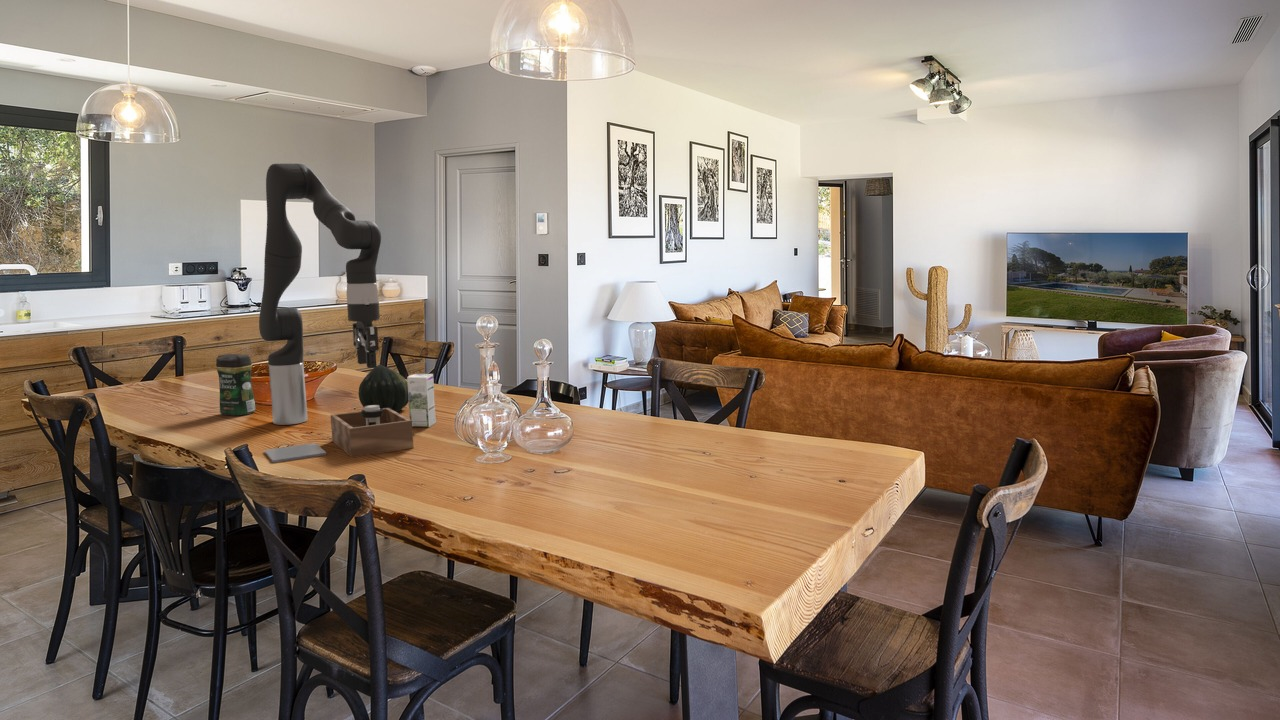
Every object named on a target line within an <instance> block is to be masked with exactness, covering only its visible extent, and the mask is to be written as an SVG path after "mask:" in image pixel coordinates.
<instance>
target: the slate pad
mask: <svg viewBox="0 0 1280 720" xmlns="http://www.w3.org/2000/svg"><path fill="white" fill-rule="evenodd" d="M264 453H265V455H266V456H267V457H268V458H269V460H270V461H271V462H272V464H274V463H275V464H276V463H281V462H288V461H293V460H294V461H296V460H302V459H303V460H304V459H307V458H308V459H309V458H314V457H323V456H327V452H326V450H324V449H323V448H322V447H321V446H320V445H319V444H317V442H313V443H306V444H305V443H304V444H298V445H289V446H284V447H276V448H270V449H264Z"/></svg>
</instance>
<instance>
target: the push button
mask: <svg viewBox="0 0 1280 720" xmlns="http://www.w3.org/2000/svg"><path fill="white" fill-rule="evenodd" d="M360 411H361V413H362V416H363V417H364V418H366V426H369V425H376V424H380V416H382V415H383V414H382V412H383V409H381V408H379V405H369V406H365V408H363V409H362V410H360Z"/></svg>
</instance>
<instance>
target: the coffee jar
mask: <svg viewBox="0 0 1280 720" xmlns="http://www.w3.org/2000/svg"><path fill="white" fill-rule="evenodd" d="M215 361H216V363H215V368H216V371H217V375H218V381H219V413H220V414H221V415H224V416H225V415H226V416H235V417H237V416H243V415H245V416H246V415H250V414H252V413H254V412H255V411H256V404H255V397H254V396H255V395H254V391H253V385H252V383H253V382H252V368H253V364H252V359H251V356H250V355H248V354H242V353H241V354H239V353H228V354H220V355H218V356H217V357H216V360H215Z"/></svg>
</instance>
